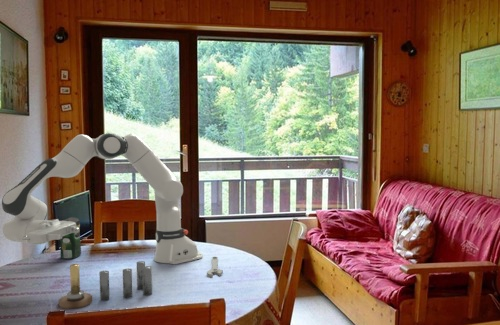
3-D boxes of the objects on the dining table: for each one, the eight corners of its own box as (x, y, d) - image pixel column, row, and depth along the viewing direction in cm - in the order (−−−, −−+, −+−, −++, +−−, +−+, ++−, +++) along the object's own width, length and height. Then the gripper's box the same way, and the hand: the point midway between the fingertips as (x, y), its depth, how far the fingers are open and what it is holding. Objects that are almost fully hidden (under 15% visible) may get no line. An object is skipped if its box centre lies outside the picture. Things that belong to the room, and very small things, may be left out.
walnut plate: (90, 294, 161) (90, 290, 161) (94, 305, 151) (94, 301, 151) (57, 300, 156) (57, 295, 156) (59, 311, 146) (59, 307, 146)
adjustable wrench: (211, 259, 204) (211, 256, 204) (225, 259, 204) (225, 256, 204) (206, 277, 180) (206, 273, 179) (221, 278, 179) (221, 273, 179)
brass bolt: (83, 294, 157) (82, 261, 156) (85, 299, 152) (83, 266, 151) (66, 297, 155) (65, 264, 154) (67, 302, 150) (66, 268, 149)
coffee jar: (68, 253, 213) (66, 216, 212) (83, 253, 213) (82, 216, 211) (57, 259, 204) (55, 220, 202) (73, 259, 203) (72, 220, 201)
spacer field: (98, 300, 156) (97, 272, 155) (125, 284, 171) (125, 259, 171) (135, 305, 151) (134, 277, 150) (159, 288, 167) (159, 263, 166)
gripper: (17, 230, 158) (48, 232, 154) (58, 218, 178) (86, 219, 173) (19, 247, 159) (50, 249, 155) (59, 233, 178) (88, 234, 174)
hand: (69, 233), depth 164 cm, fingers open, 8 cm apart
